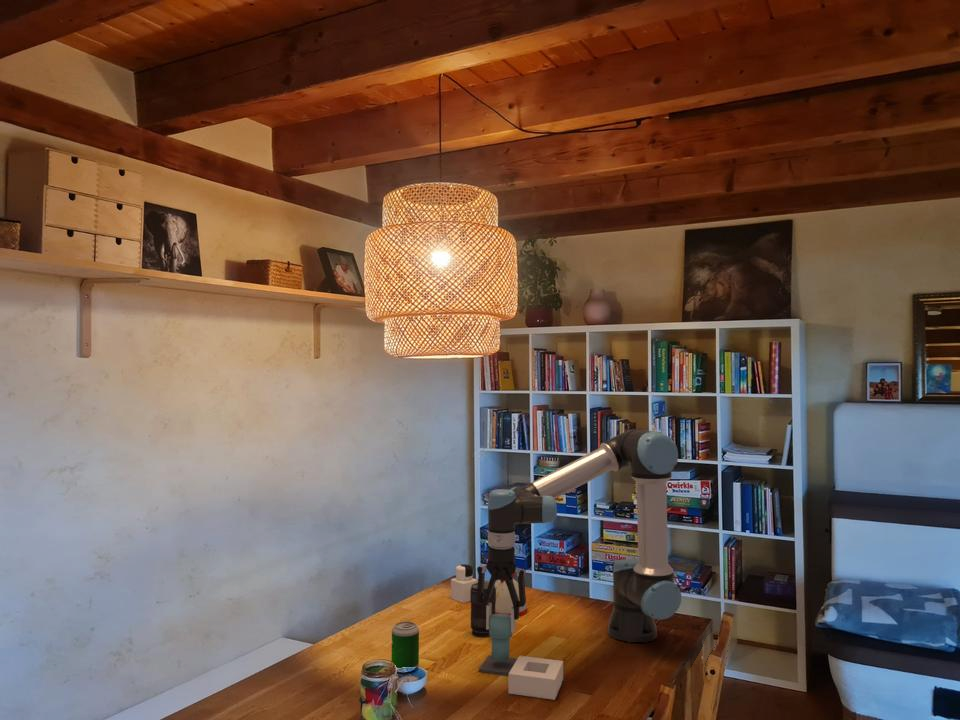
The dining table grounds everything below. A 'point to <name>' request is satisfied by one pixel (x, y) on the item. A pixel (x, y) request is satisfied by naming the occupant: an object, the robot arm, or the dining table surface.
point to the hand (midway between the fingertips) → (501, 629)
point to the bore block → (536, 677)
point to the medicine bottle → (462, 583)
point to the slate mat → (497, 666)
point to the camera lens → (480, 611)
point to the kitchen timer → (506, 598)
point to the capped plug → (500, 636)
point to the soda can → (405, 645)
